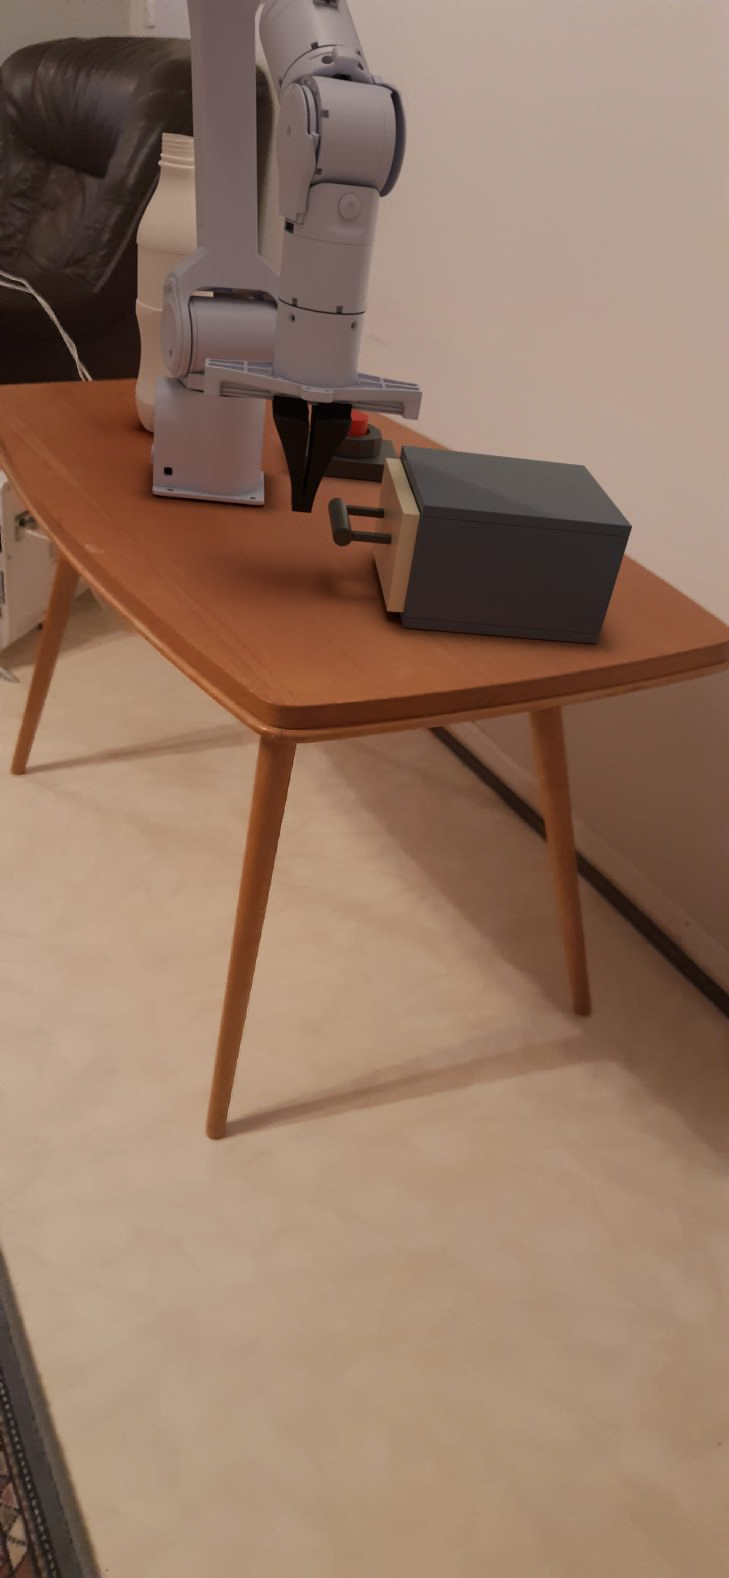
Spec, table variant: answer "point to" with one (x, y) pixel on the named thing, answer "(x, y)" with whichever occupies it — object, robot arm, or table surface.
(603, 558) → the cabinet
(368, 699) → the table surface
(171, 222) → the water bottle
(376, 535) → the drawer
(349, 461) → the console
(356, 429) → the button
